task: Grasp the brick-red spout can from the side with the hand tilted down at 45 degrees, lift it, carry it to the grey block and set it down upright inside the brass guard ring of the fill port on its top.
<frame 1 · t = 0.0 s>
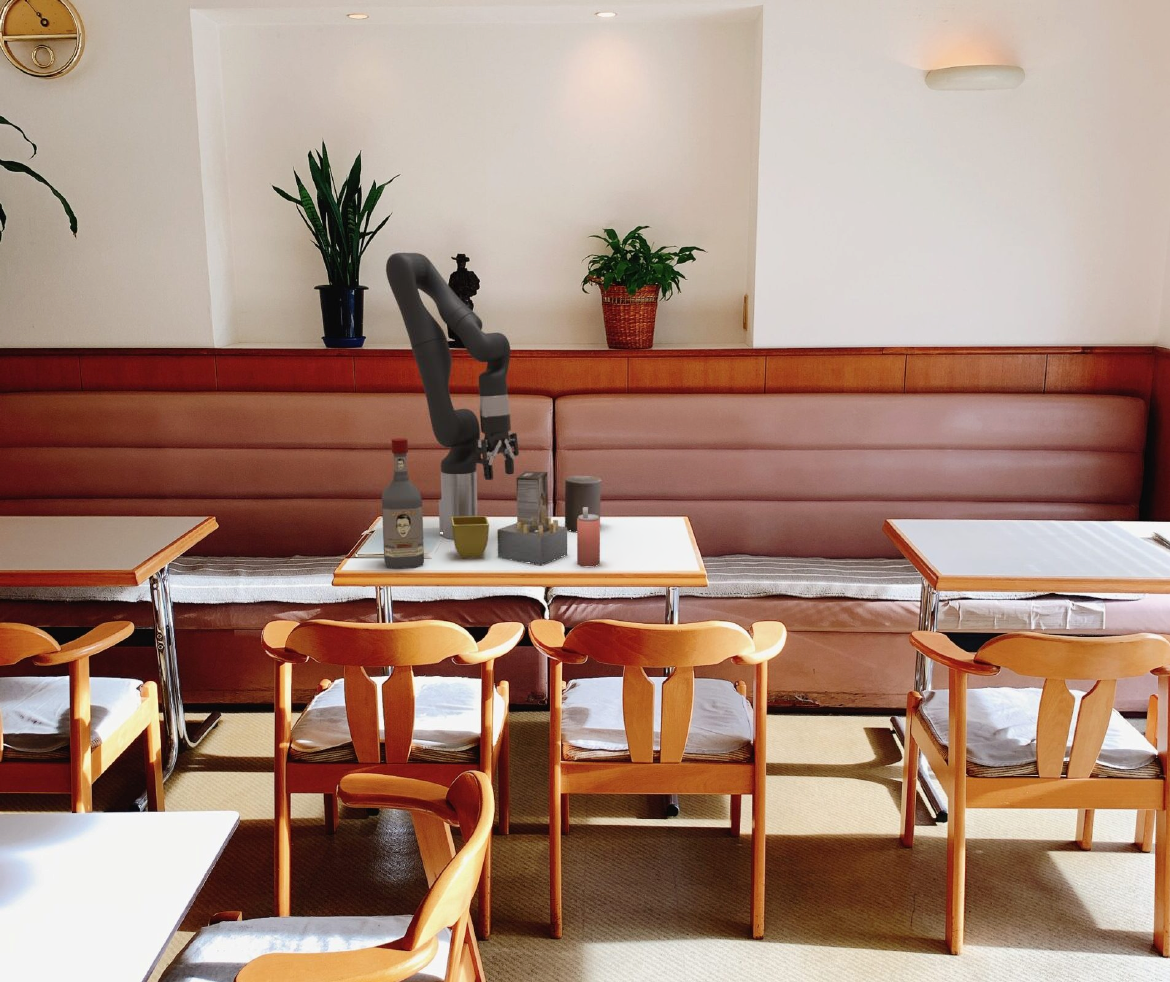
hand: (499, 476, 265), 17 cm above the table, tool pointing down, fingers open, 8 cm apart
coffee box: (532, 534, 277), on the table
flower pot: (470, 556, 256), on the table
spout can: (588, 563, 249), on the table
pillar candle: (582, 529, 283), on the table
grey block: (532, 556, 256), on the table
liquor: (404, 564, 249), on the table
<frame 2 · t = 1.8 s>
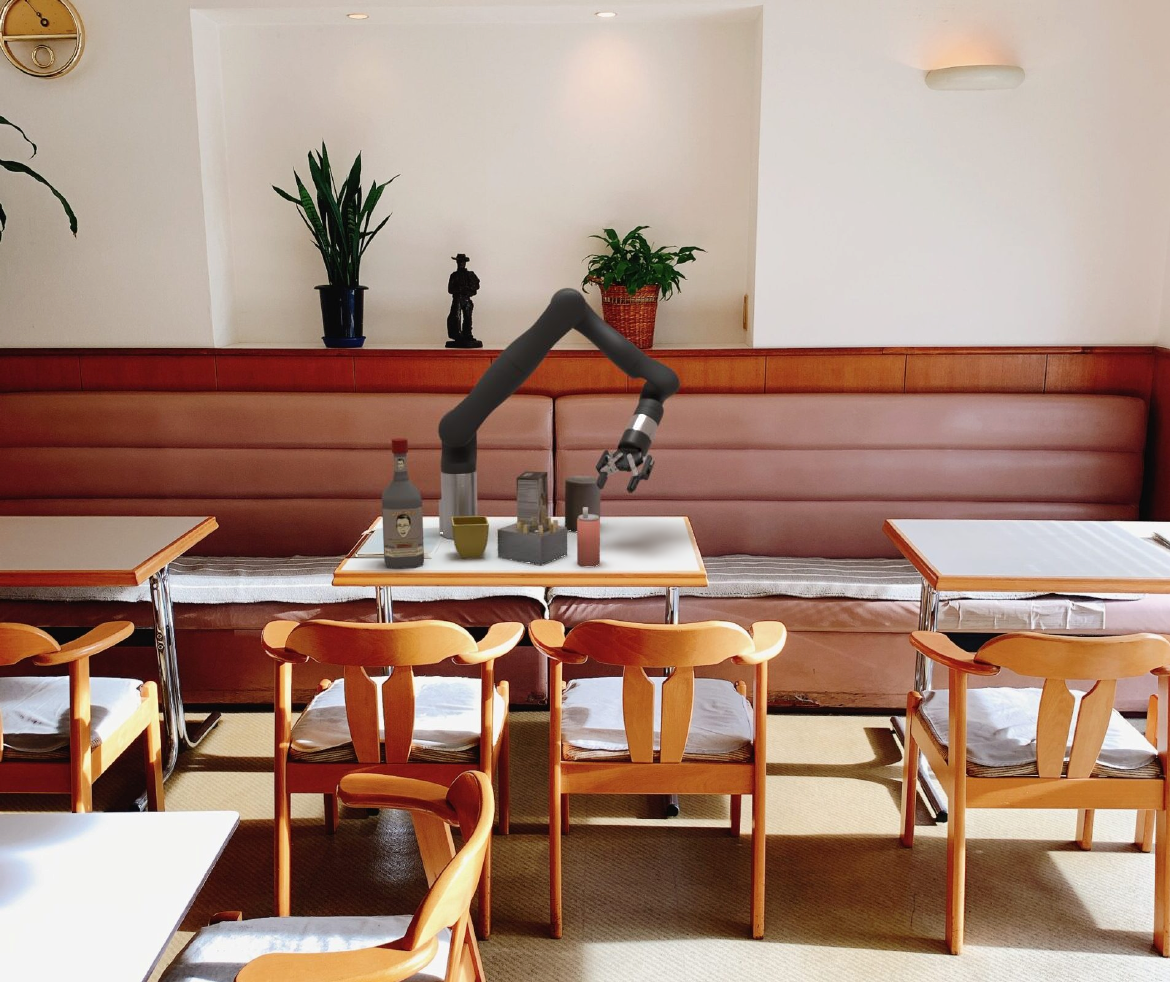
hand: (614, 489, 255), 16 cm above the table, tool tilted 45°, fingers open, 8 cm apart
nothing on the table moved.
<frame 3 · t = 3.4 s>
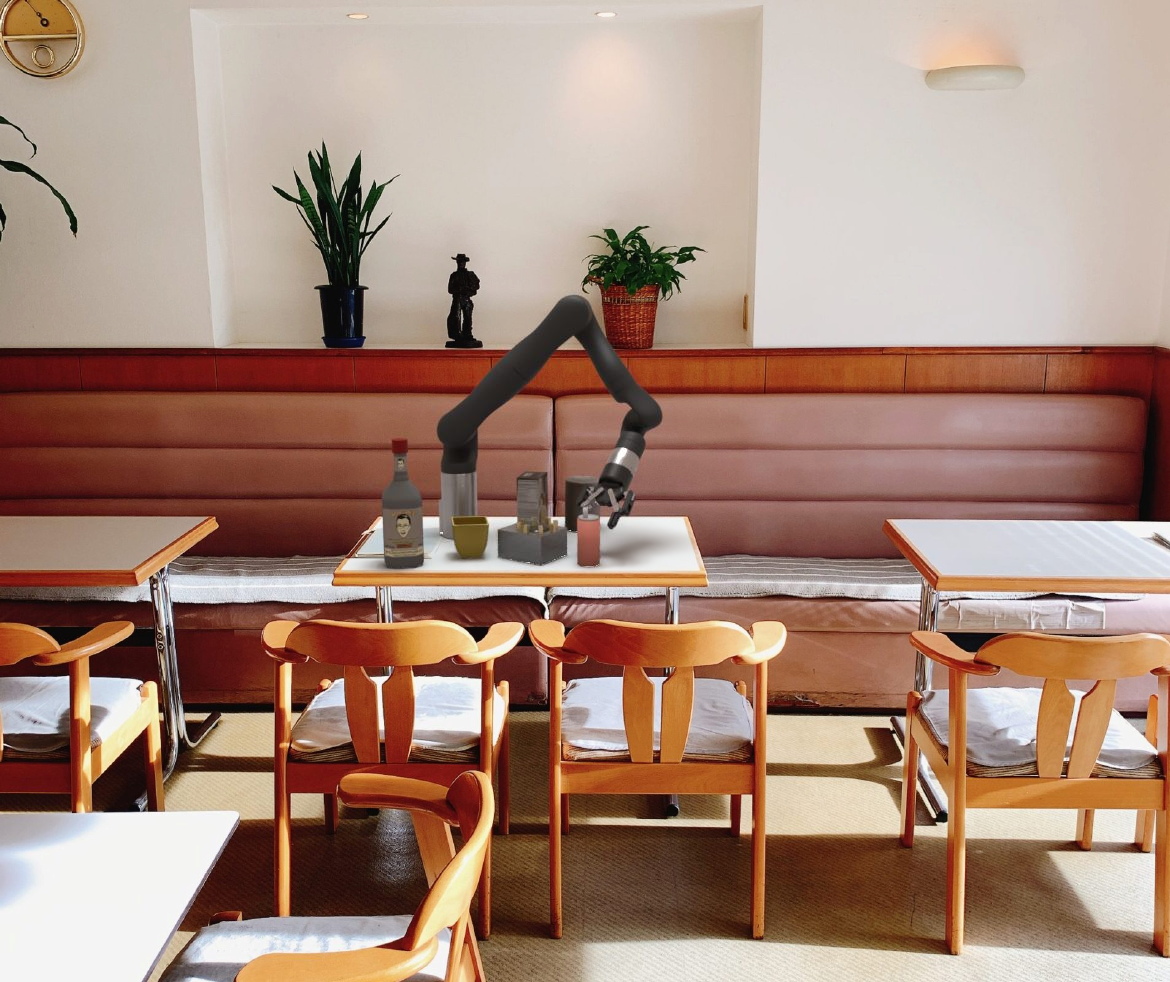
hand: (594, 525, 249), 9 cm above the table, tool tilted 45°, fingers open, 8 cm apart
nothing on the table moved.
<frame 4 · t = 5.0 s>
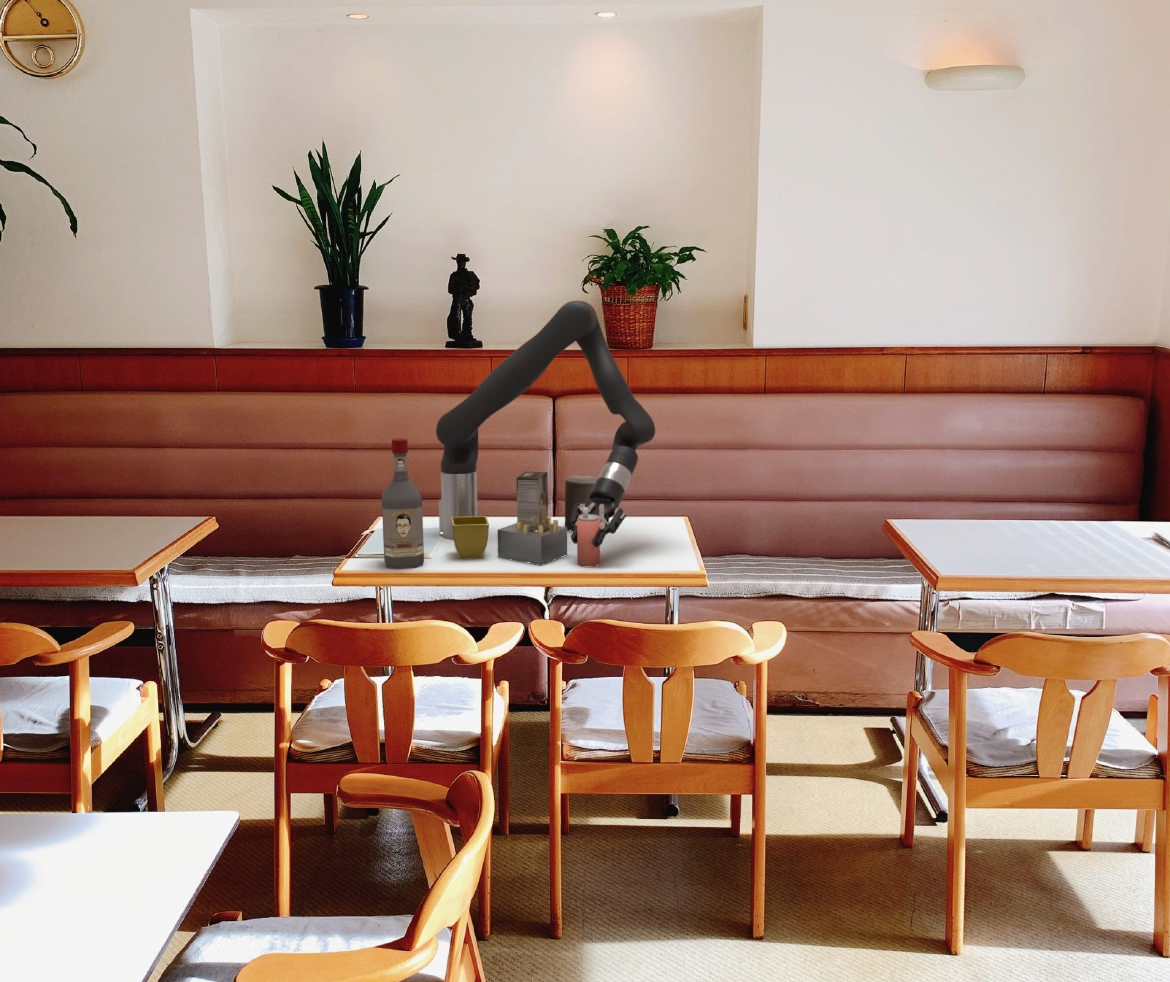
hand: (584, 543, 247), 5 cm above the table, tool tilted 45°, fingers closed on spout can, 5 cm apart
spout can: (588, 563, 249), on the table, touching gripper
everything else where it was.
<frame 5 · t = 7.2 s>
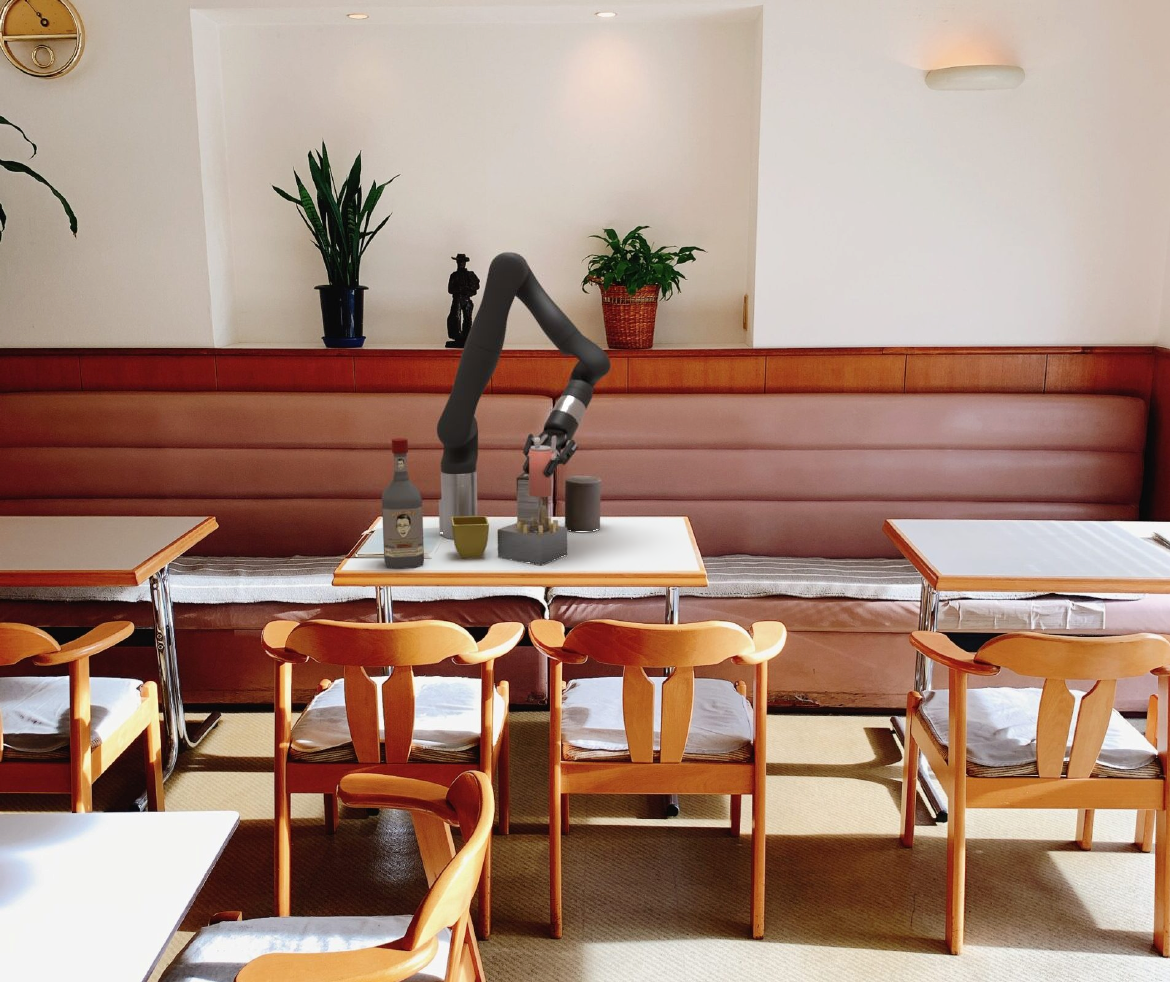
hand: (535, 473, 248), 21 cm above the table, tool tilted 45°, fingers closed on spout can, 5 cm apart
spout can: (540, 494, 251), point 16 cm above the table, touching gripper
everything else where it was.
when the fingers open (14 cm above the table, at t = 9.4 s): spout can drops 1 cm, resting on grey block.
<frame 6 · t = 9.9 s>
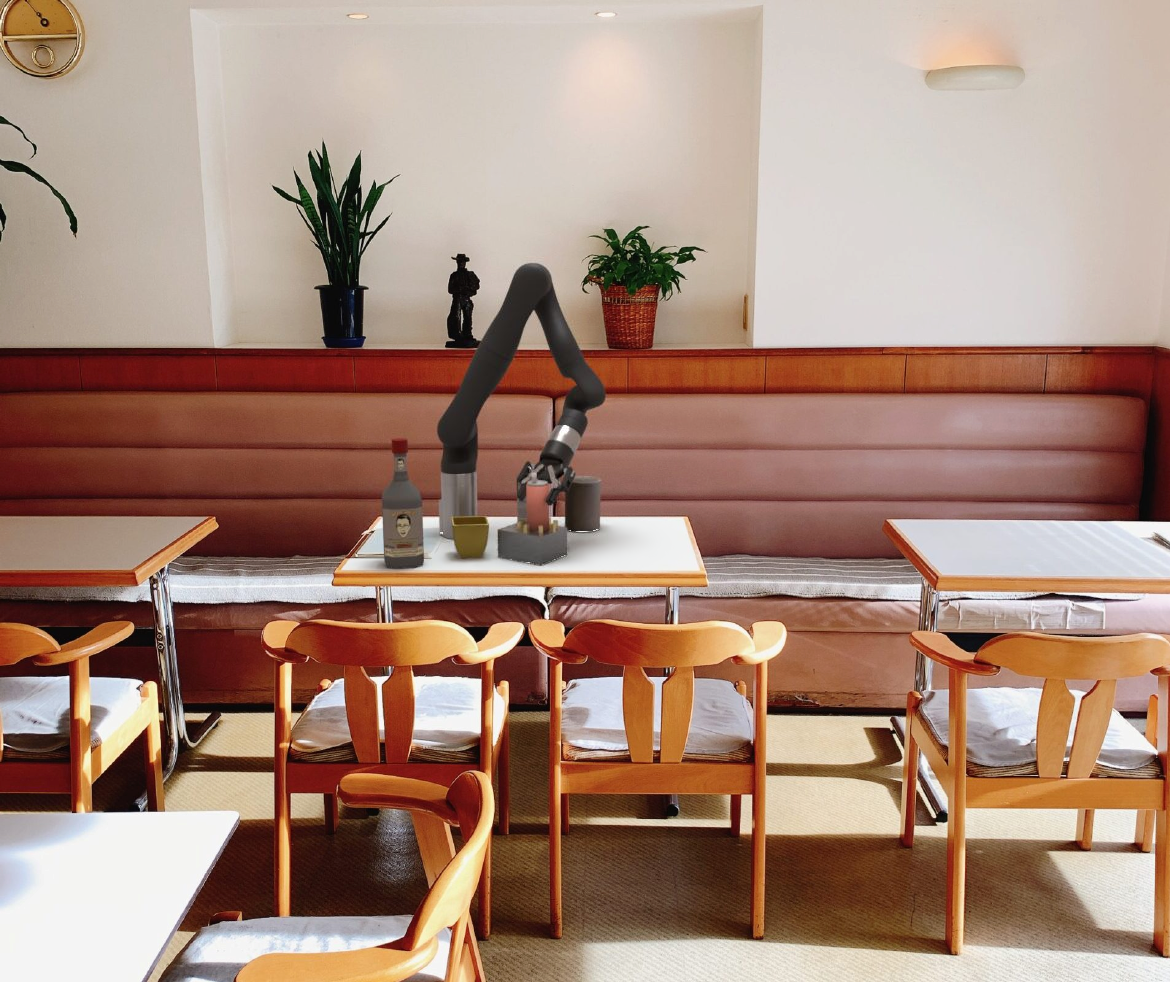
hand: (533, 501, 251), 14 cm above the table, tool tilted 45°, fingers open, 8 cm apart
spout can: (537, 528, 253), point 7 cm above the table, touching grey block
everything else where it was.
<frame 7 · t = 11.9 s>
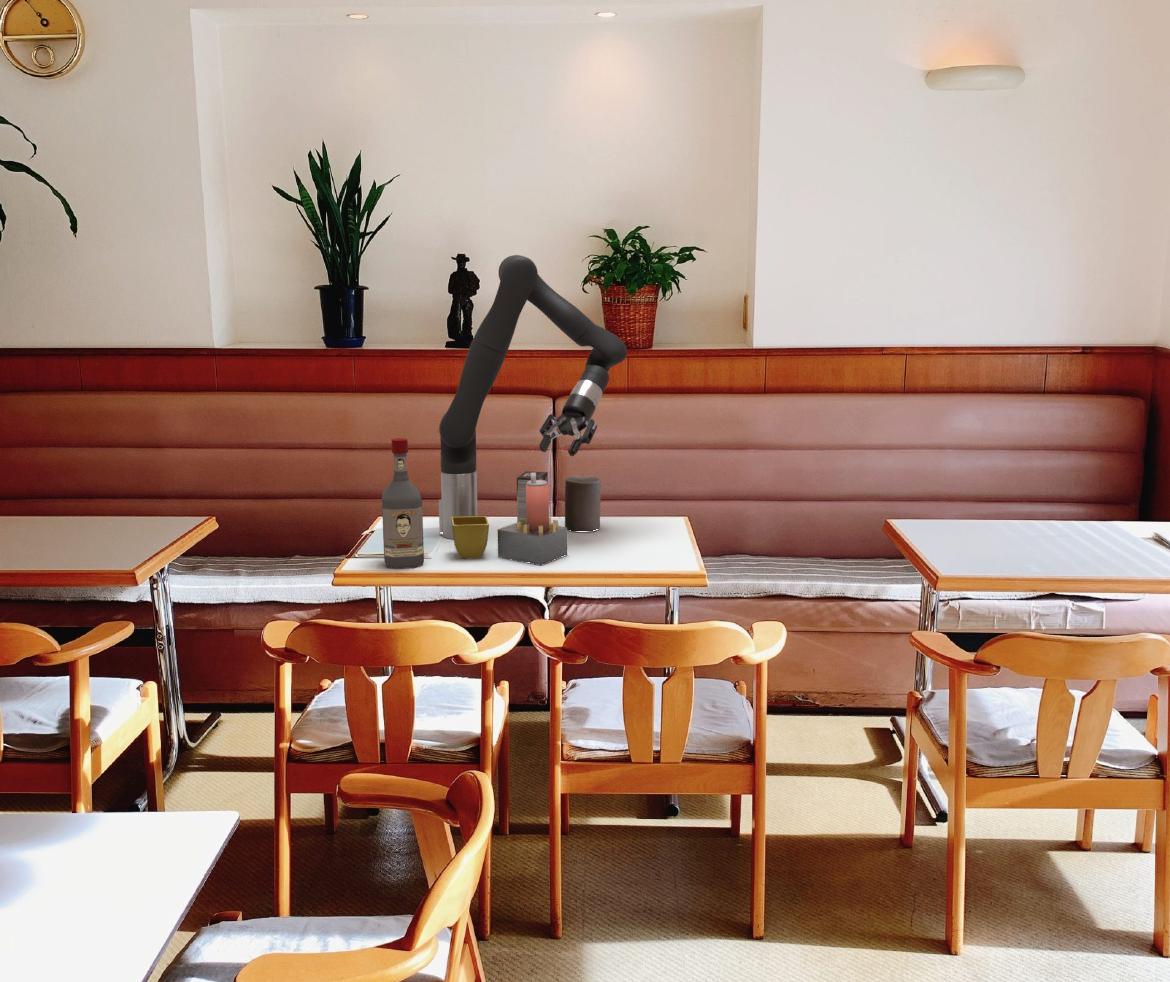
hand: (556, 452, 259), 24 cm above the table, tool tilted 45°, fingers open, 8 cm apart
nothing on the table moved.
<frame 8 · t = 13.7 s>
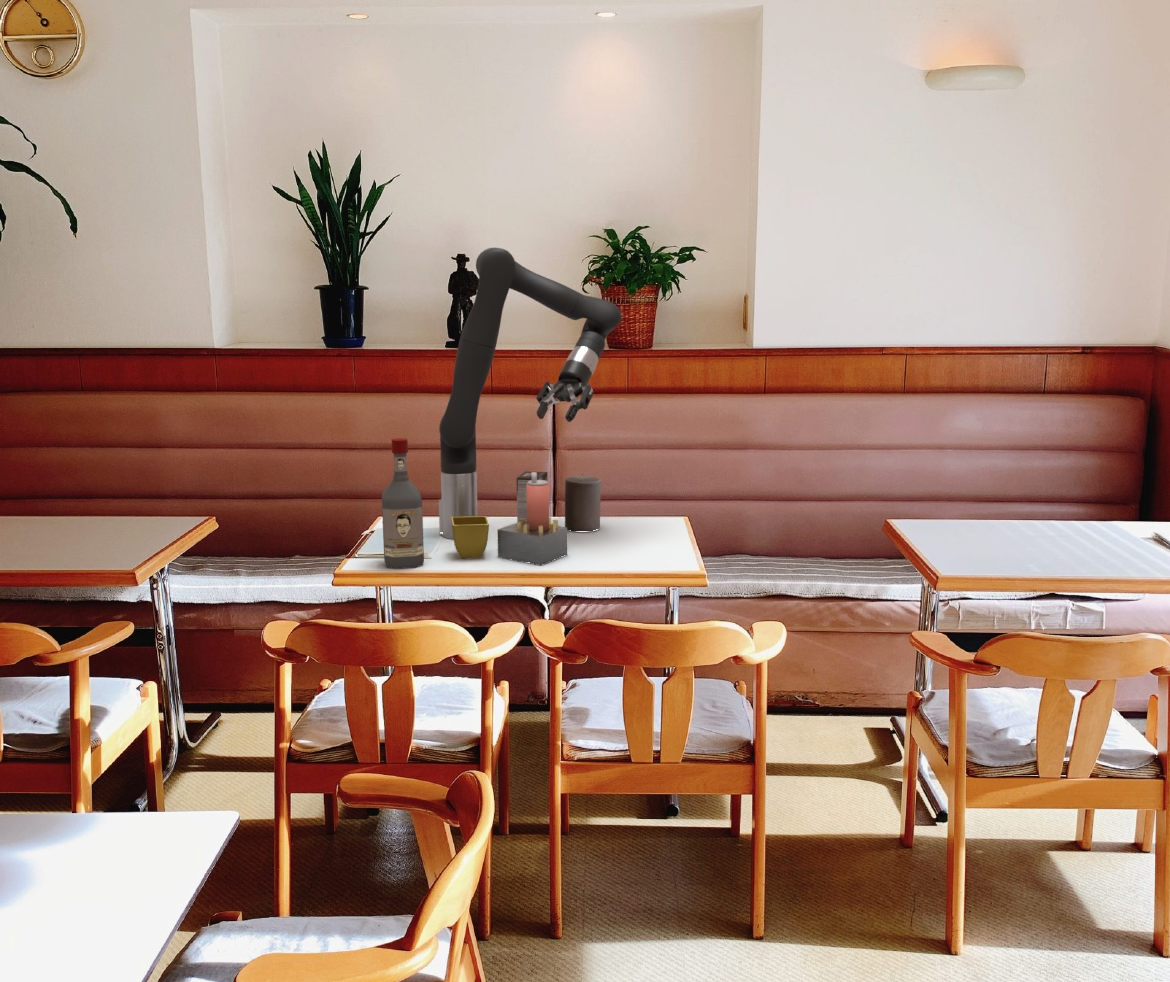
hand: (553, 418, 258), 33 cm above the table, tool tilted 45°, fingers open, 8 cm apart
nothing on the table moved.
at the end: spout can inside the target area on the grey block (0.2 cm from its centre), point 7.1 cm above the grey block's base; spout can tilted 1°; the gripper is holding nothing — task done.
